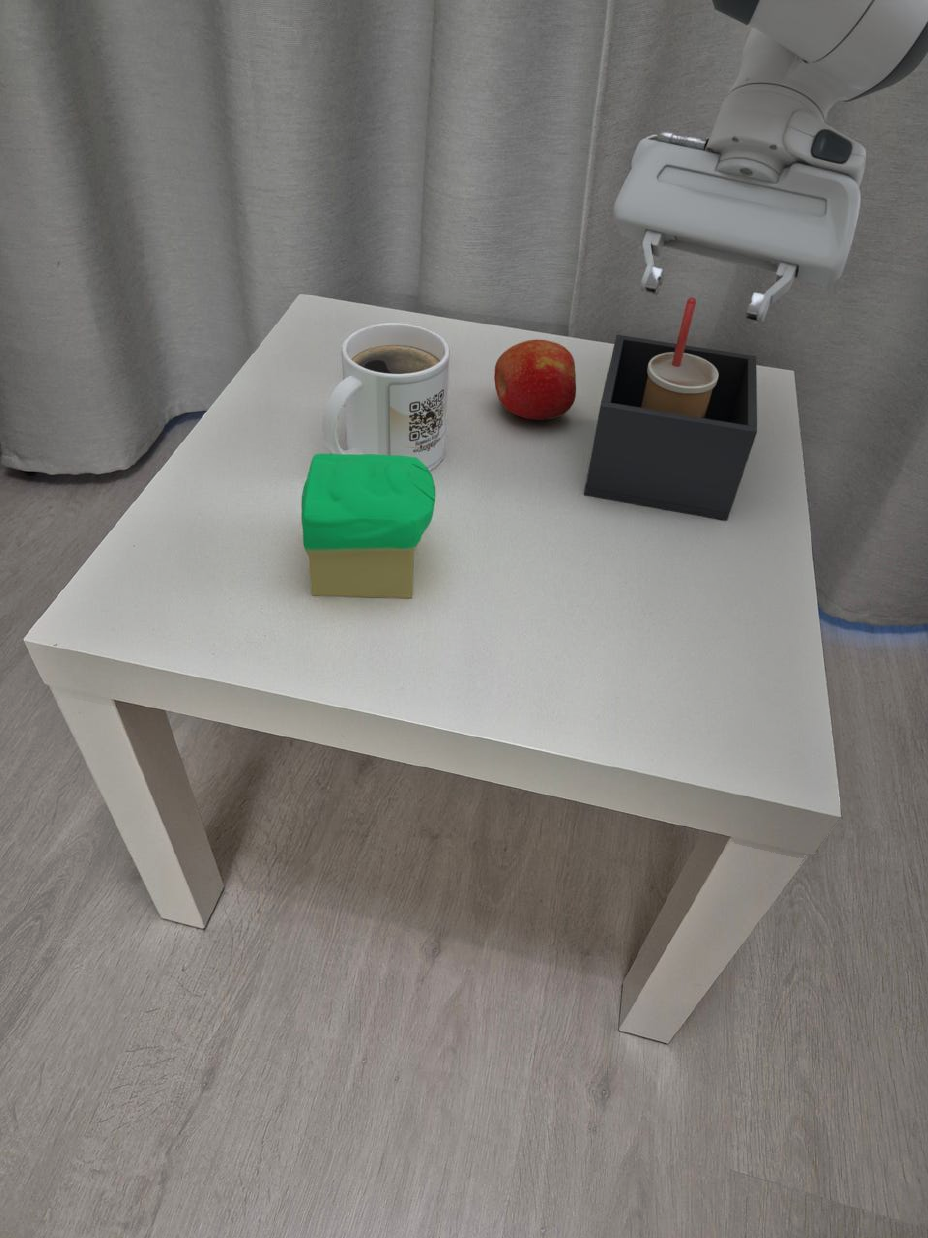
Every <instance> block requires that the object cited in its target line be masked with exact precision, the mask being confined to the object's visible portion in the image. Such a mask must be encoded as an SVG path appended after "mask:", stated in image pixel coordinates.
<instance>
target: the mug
mask: <svg viewBox="0 0 928 1238" xmlns="http://www.w3.org/2000/svg"><path fill="white" fill-rule="evenodd" d="M449 347H450V346H449V344H448V343H447V341H446V340H445V339H444V338H443V337H442V336H441V335H439V334H438V333H437V332H435V331H433V330H431V329H428V328H426V327H424V326H420V325H416V324H411V323H405V322H404V323H402V322H384V323H377V324H376V323H375V324H371V325H368V326H364V327H361V328H359V329H357V330H355V331H353V332H352V333H350V334H349V335H348V336H347V337H346V338H345V340H344V341H343V343H342V346H341V366H342V367H341V368H342V380H341V381H340V382H339V383H338V384H337V385H336V386H335V387H334V389H333V390H332V392H331V394H330V395H329V397H328V400H327V402H326V405H325V408H324V412H323V416H322V417H323V418H322V434H323V439H324V440H323V441H324V443H325V445H326V447H327V449H328V451H329V452H330V453H331V454H361V455H362V454H378V455H402V456H409V457H416V458H417V459H419V460H420V461H421V462H422V463H423V464H424V465H425V466H426V467H427V468H428V470H429V471H430V472H431V471H432V470H434V469H435V468H436V467H437V466H438V465H440V463H441V461H443V459H444V456H445V454H446V444H447V421H448V419H447V418H448V399H449V398H448V397H449V395H448V394H449V373H450V348H449ZM343 407H344V419H345V420H344V421H345V442H346V449H343V448H342V447H341V444H340V443H339V438H338V424H339V423H338V422H339V419H340V415H341V412H342V410H343Z"/></svg>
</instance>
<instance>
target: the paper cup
mask: <svg viewBox="0 0 928 1238" xmlns="http://www.w3.org/2000/svg"><path fill="white" fill-rule="evenodd" d="M696 305H697V299H696V298H695V297H693V296H691V297H688V299H687V300H686V303H685V308H684V311H683V316H682V319H681V324H680V327H679V333H678V337H677V340H676V343H675V344H676V348H675V352H670V353H663V354H659V355H657V356H655V357H653V358H652V359H651V360H650V362H649V364H648V368H647V373H648V378H647V383H646V387H645V392H644V396H643V401H642V405H641V408H645V409H651V410H657V411H663V412H669V413H675V414H681V415H687V416H693V417H699V418H705V414H706V411H707V407H708V404H709V400H710V397H711V393H712V390H713V387H714V386H715V385H716V383H717V380H718V376H719V375H718V371H717V369H716V368H715V366H714V365H712V364H711V363H710V362H708V361H707V360H705V359H703V358H701V357H698V356H695V355H691V354H687V353H684V349H685V345H687V341H688V337H689V332H690V329H691V325H692V321H693V317H694V313H695V309H696Z"/></svg>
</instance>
